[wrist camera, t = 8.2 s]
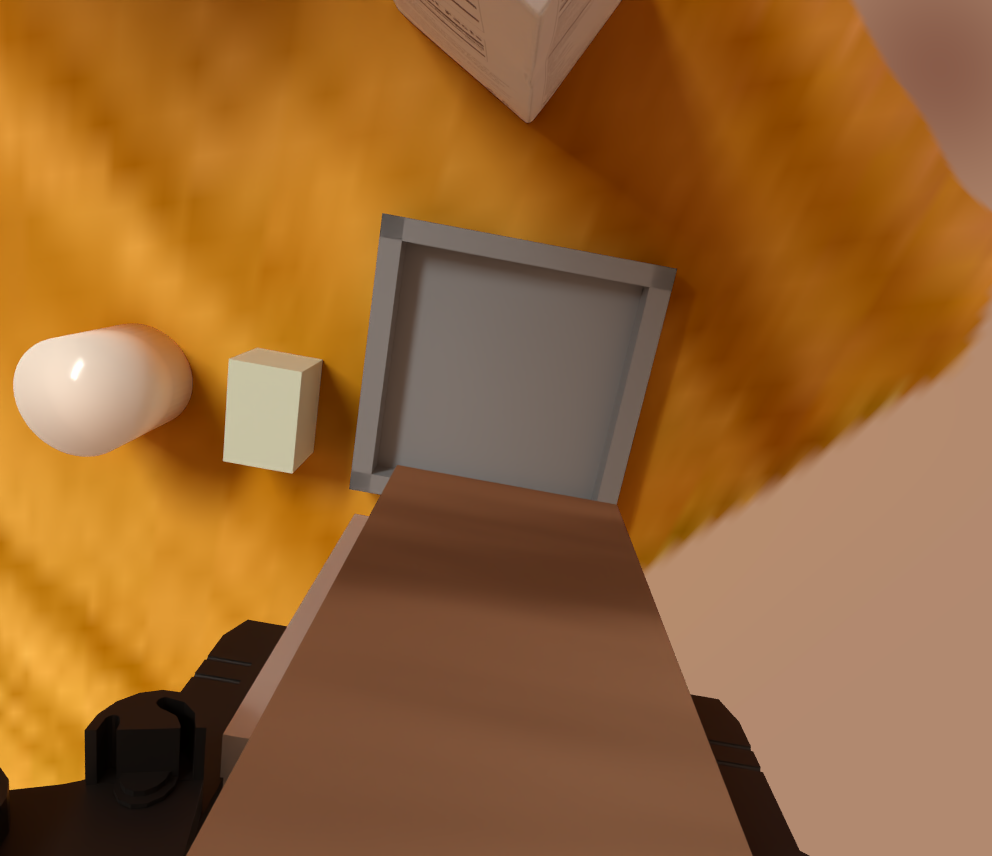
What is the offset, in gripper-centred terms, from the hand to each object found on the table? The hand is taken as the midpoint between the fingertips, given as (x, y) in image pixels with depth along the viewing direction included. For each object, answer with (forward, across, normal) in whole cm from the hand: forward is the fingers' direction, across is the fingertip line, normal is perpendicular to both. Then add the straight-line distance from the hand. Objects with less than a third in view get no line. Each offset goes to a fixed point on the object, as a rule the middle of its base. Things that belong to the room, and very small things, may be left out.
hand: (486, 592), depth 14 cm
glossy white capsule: (+24, -22, -4) cm, 33 cm away
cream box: (+24, -13, -4) cm, 28 cm away
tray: (+24, 0, 0) cm, 24 cm away
